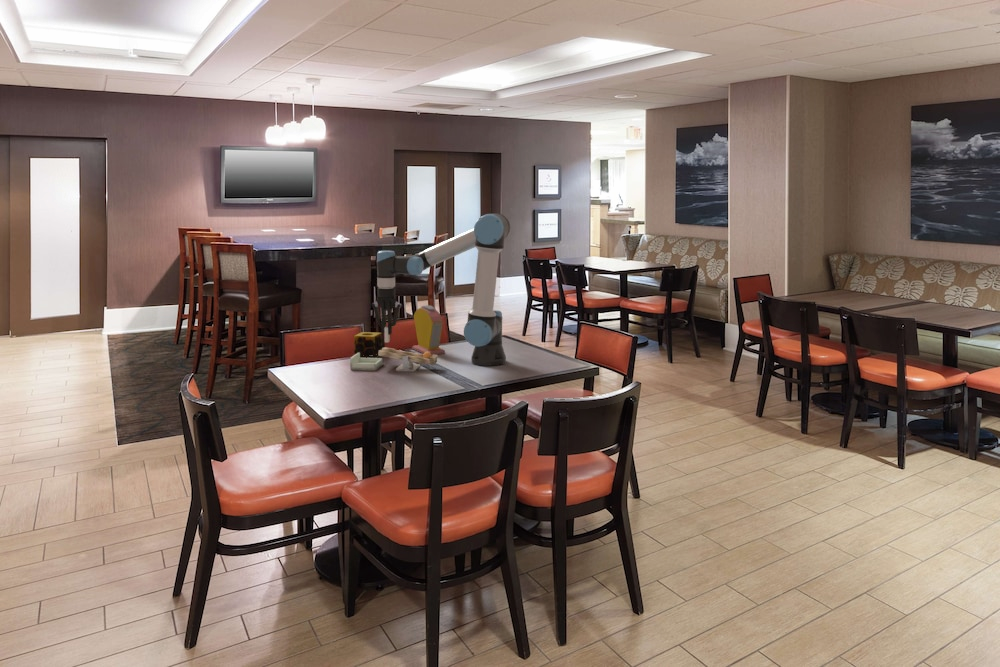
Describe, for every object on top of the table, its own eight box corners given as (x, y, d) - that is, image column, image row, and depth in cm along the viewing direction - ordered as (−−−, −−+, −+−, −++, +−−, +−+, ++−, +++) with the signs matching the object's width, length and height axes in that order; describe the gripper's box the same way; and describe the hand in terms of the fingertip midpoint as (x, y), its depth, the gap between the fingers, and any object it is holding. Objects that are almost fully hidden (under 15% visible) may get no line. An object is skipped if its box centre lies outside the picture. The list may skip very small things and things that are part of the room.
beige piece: (439, 360, 323) (441, 351, 322) (433, 367, 310) (434, 358, 310) (384, 351, 325) (385, 342, 324) (375, 357, 313) (376, 348, 312)
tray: (382, 364, 322) (382, 353, 321) (375, 370, 311) (375, 358, 310) (358, 363, 323) (358, 352, 322) (350, 369, 313) (349, 358, 312)
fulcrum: (420, 366, 319) (419, 351, 318) (414, 371, 310) (414, 356, 308) (402, 365, 320) (401, 351, 319) (395, 370, 311) (395, 356, 310)
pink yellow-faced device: (447, 354, 341) (447, 308, 337) (429, 357, 336) (428, 309, 332) (427, 346, 360) (426, 301, 356) (409, 348, 355) (408, 303, 351)
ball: (431, 360, 315) (433, 352, 314) (429, 362, 311) (431, 354, 311) (423, 357, 315) (425, 349, 314) (421, 359, 312) (423, 351, 311)
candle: (375, 358, 334) (374, 336, 332) (353, 357, 336) (353, 335, 334) (383, 353, 343) (382, 332, 342) (362, 352, 345) (361, 331, 344)
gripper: (403, 286, 320) (404, 340, 324) (374, 285, 321) (375, 339, 326) (399, 289, 312) (399, 344, 317) (368, 288, 314) (369, 342, 319)
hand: (387, 341), depth 321 cm, fingers closed
